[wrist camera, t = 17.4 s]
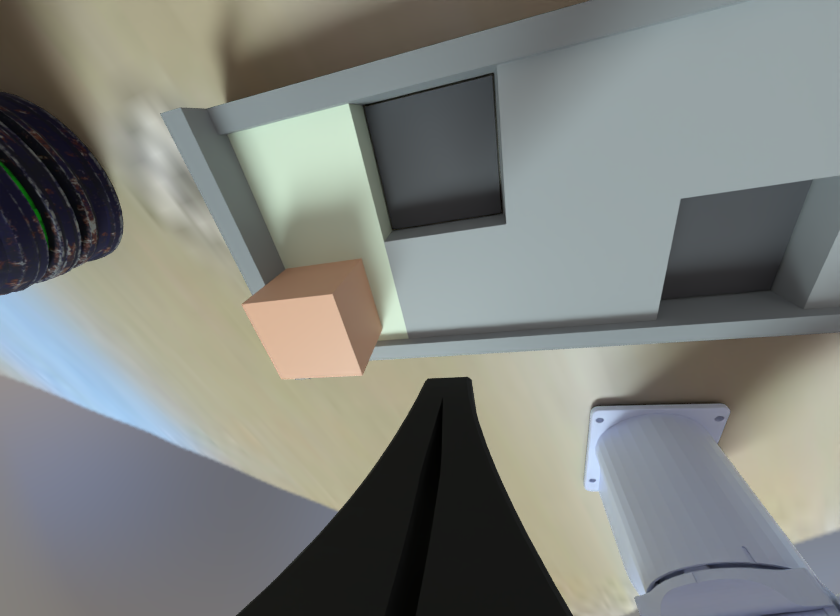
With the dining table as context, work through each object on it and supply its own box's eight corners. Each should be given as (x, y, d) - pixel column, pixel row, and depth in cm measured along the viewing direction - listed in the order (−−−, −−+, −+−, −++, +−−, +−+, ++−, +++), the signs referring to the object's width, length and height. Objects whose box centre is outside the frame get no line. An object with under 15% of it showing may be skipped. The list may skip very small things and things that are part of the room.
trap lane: (910, 294, 15) (1033, 343, 12) (322, 340, 23) (295, 379, 19) (1190, -148, 9) (1645, -318, 5) (227, 115, 16) (160, 113, 12)
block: (382, 329, 19) (362, 375, 15) (314, 334, 20) (281, 379, 16) (361, 258, 17) (332, 294, 13) (286, 268, 18) (241, 304, 14)
